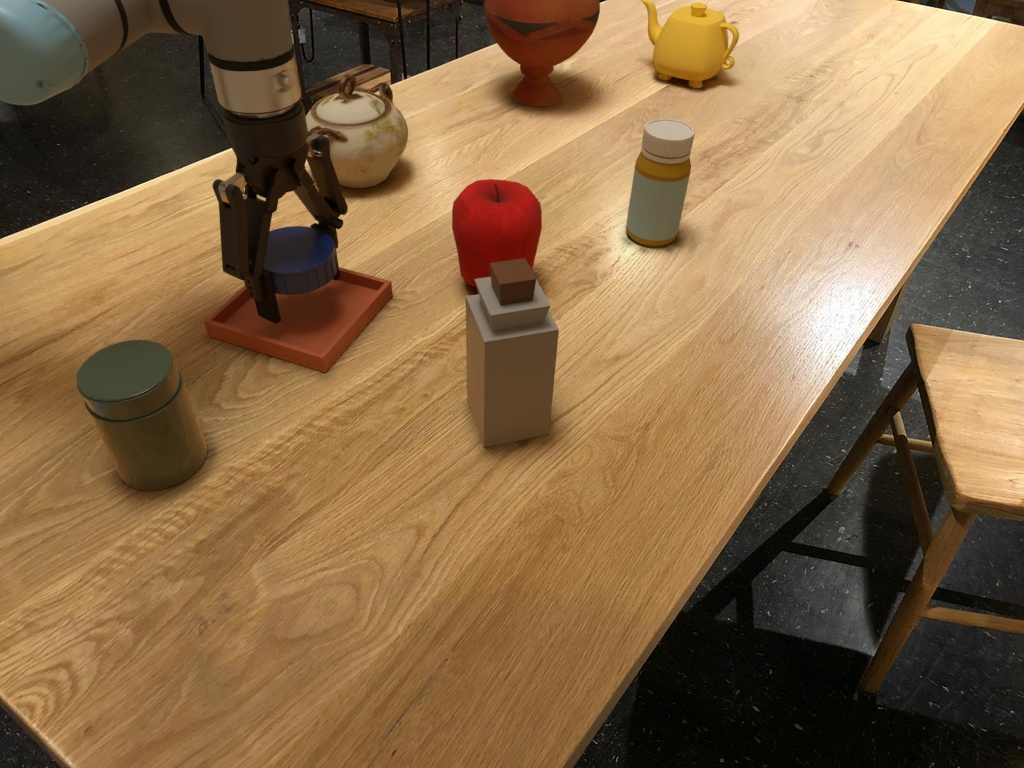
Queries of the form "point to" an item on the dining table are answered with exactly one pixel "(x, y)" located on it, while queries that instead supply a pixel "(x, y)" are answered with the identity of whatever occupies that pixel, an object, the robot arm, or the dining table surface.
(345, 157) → the sugar bowl
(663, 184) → the bottle
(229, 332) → the tray
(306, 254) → the lid
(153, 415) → the jar
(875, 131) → the dining table surface
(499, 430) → the perfume bottle
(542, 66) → the goblet
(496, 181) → the apple
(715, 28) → the teapot
